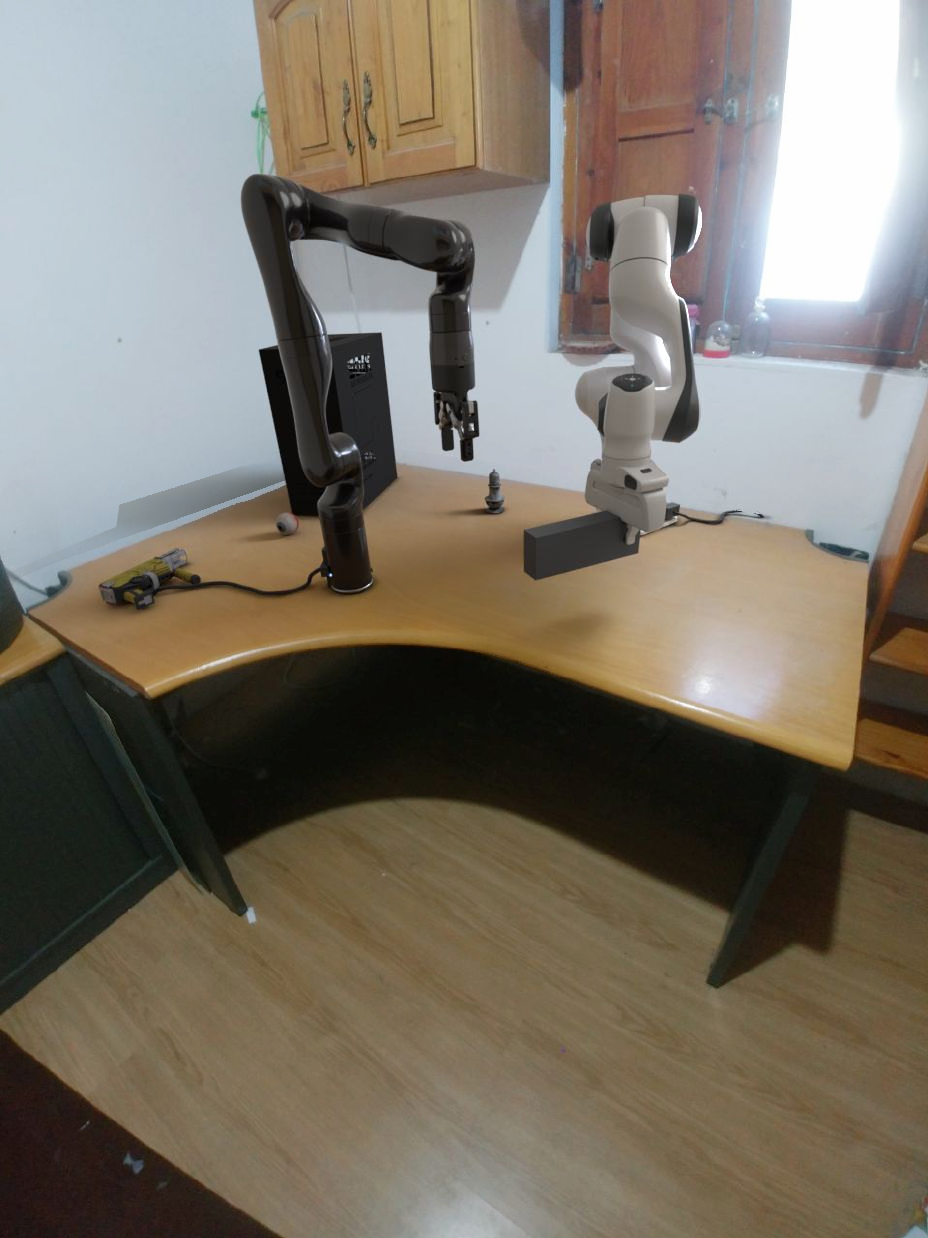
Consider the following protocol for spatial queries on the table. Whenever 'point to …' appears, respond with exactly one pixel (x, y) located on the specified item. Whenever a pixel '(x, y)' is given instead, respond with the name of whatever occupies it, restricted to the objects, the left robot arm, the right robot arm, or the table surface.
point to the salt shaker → (494, 494)
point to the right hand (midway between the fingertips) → (619, 537)
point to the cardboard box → (338, 416)
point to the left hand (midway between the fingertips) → (457, 455)
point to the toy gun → (146, 580)
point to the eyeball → (287, 523)
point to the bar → (575, 544)
